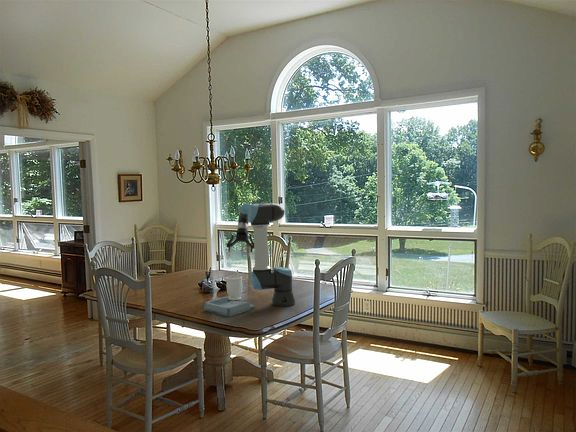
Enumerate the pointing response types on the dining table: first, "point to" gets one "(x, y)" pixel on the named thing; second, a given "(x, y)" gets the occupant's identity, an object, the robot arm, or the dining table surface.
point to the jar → (234, 287)
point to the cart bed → (226, 306)
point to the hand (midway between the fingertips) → (239, 255)
